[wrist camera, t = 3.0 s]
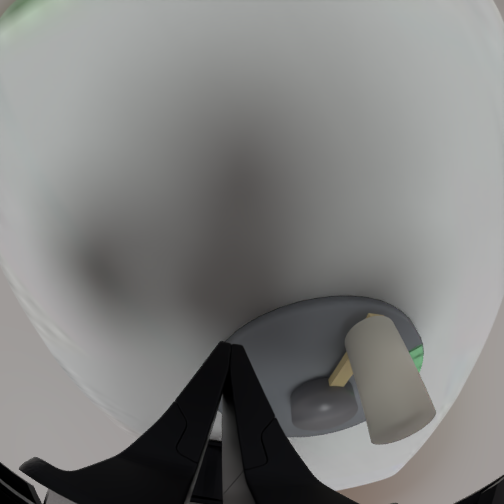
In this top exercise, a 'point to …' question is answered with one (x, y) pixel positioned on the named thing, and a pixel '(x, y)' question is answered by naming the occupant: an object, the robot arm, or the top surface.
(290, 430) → the grey round disc
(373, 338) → the peg
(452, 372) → the top surface
